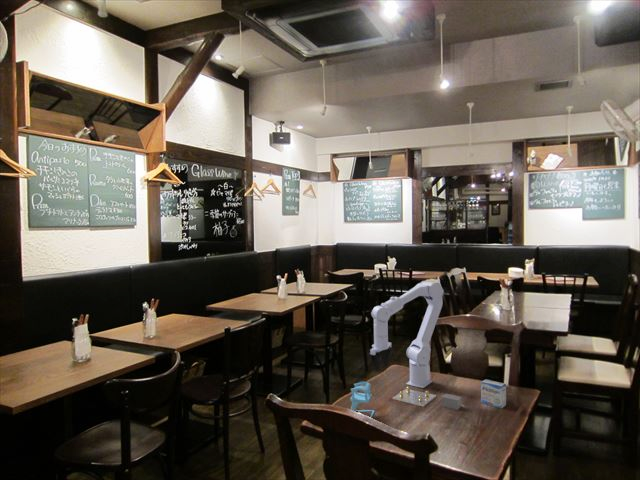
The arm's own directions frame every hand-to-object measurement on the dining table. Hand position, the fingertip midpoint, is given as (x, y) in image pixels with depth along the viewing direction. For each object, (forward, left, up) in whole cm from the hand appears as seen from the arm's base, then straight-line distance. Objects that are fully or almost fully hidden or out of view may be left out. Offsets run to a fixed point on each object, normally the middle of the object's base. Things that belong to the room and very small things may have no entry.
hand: (381, 368), depth 181 cm
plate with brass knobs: (+1, +15, -9) cm, 18 cm away
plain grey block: (+1, +30, -10) cm, 32 cm away
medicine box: (-10, +42, -10) cm, 44 cm away
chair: (+26, +6, -10) cm, 28 cm away
